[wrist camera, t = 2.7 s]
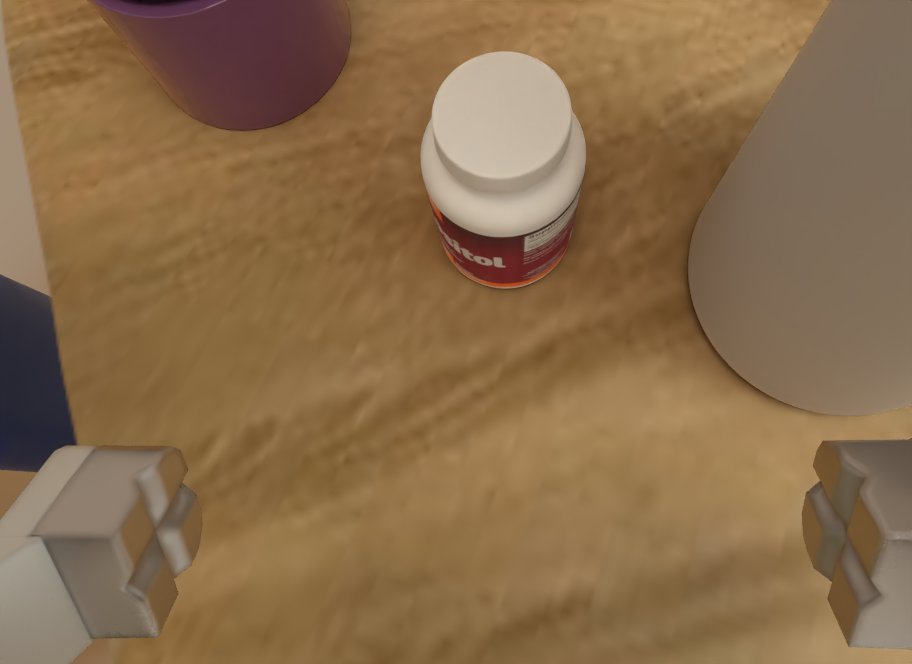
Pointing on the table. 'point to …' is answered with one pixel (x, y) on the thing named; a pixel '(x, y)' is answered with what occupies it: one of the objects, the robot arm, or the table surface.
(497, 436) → the table surface
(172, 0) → the jar lid
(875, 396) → the cylinder vase
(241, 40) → the jar
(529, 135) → the pill bottle
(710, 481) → the table surface
